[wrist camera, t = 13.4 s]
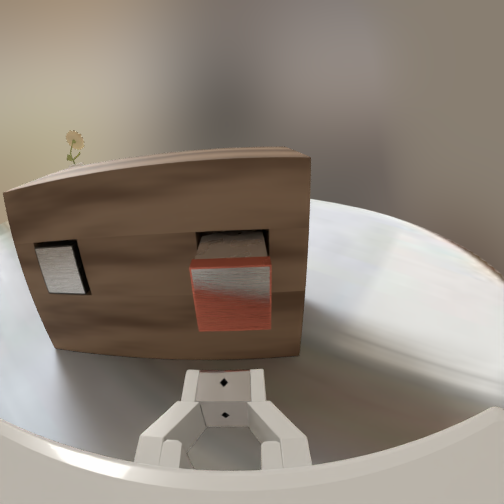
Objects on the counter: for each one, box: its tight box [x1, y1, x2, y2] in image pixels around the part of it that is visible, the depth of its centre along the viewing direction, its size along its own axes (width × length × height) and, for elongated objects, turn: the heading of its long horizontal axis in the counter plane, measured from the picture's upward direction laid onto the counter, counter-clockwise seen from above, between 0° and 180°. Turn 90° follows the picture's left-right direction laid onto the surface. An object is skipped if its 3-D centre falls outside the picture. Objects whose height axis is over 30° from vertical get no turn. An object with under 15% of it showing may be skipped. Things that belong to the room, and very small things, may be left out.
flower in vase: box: [66, 130, 84, 168], centre depth 74 cm, size 13×11×25 cm
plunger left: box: [34, 239, 90, 294], centre depth 23 cm, size 8×4×4 cm, turn 2°
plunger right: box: [189, 229, 272, 332], centre depth 19 cm, size 8×4×4 cm, turn 2°
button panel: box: [3, 147, 311, 360], centre depth 25 cm, size 11×24×16 cm, turn 92°
